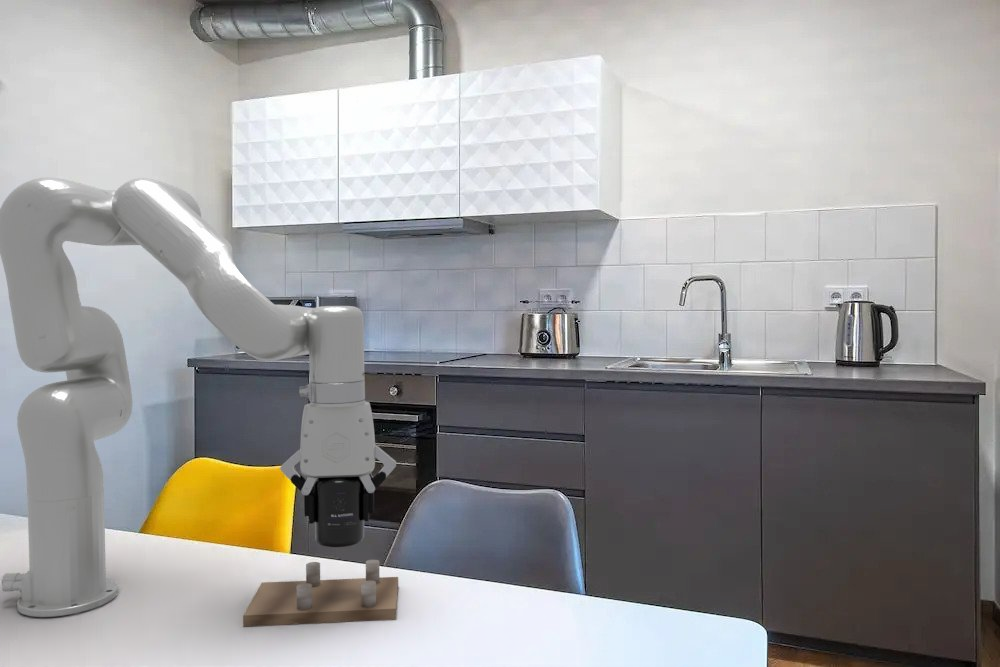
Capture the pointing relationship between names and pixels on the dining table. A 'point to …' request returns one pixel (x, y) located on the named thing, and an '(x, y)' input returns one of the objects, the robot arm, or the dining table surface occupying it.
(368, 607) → the peg board
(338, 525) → the supplement bottle
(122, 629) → the dining table surface
